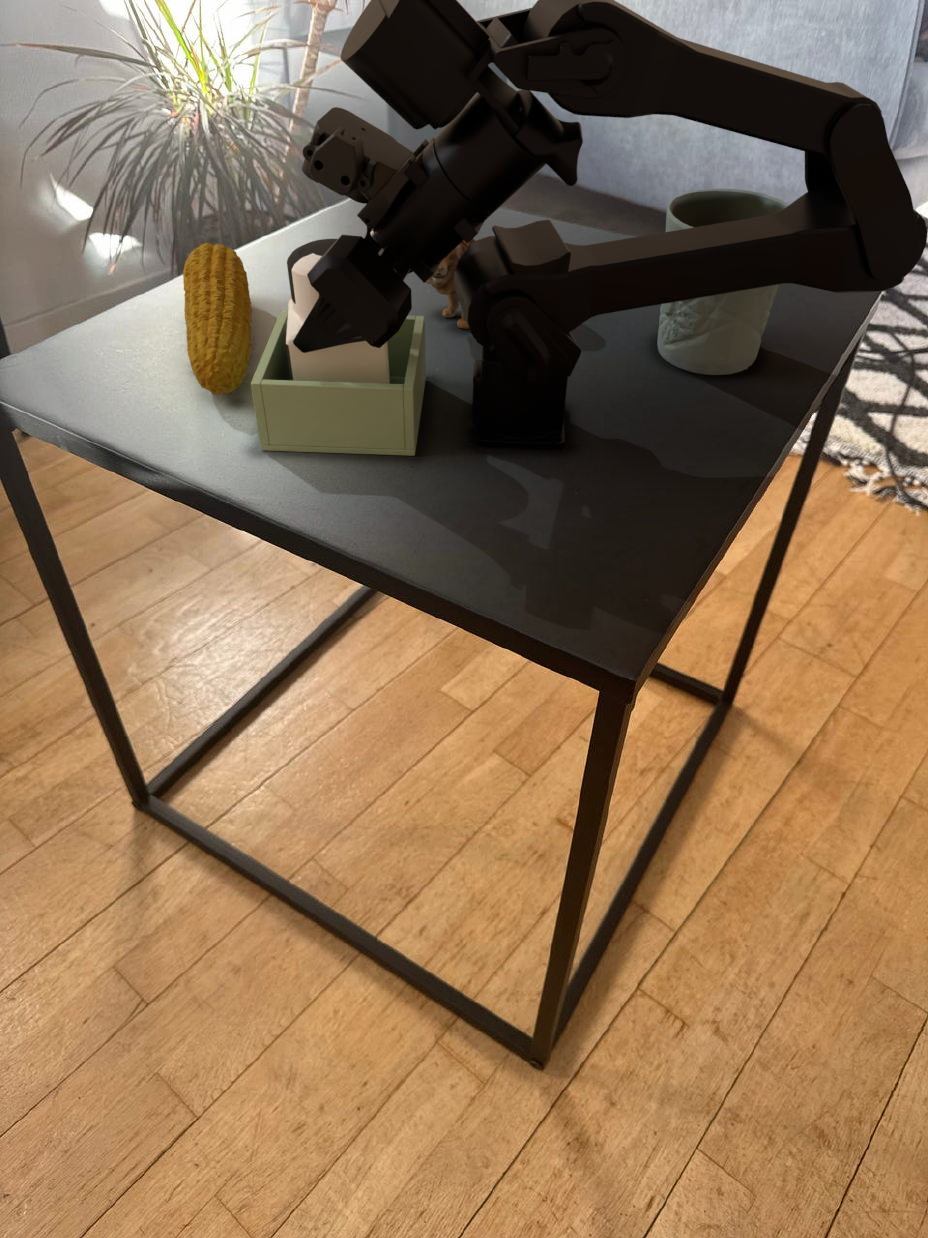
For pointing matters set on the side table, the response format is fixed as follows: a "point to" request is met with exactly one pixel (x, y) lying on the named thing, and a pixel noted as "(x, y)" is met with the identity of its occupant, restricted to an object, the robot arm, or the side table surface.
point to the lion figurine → (450, 281)
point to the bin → (342, 401)
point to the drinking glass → (719, 324)
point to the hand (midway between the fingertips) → (318, 320)
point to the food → (217, 317)
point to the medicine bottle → (332, 362)
